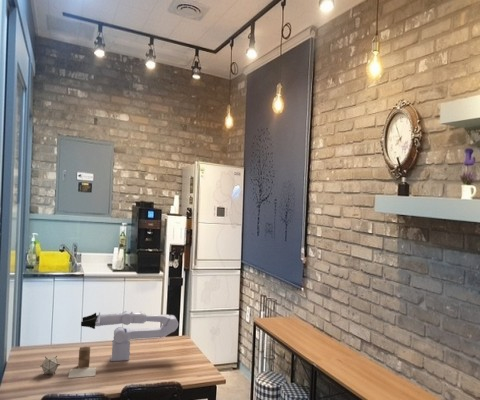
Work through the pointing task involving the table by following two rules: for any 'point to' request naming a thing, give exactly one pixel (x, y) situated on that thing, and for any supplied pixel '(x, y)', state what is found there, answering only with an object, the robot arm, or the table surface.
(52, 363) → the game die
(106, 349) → the table surface
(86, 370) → the mat
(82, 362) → the walnut block
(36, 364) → the table surface
